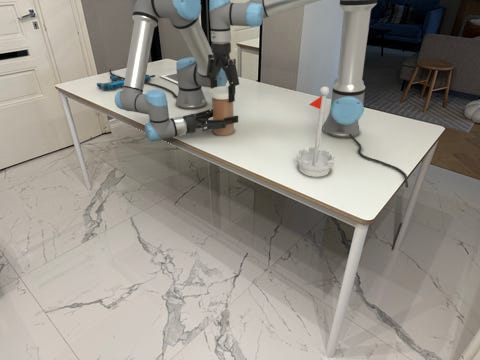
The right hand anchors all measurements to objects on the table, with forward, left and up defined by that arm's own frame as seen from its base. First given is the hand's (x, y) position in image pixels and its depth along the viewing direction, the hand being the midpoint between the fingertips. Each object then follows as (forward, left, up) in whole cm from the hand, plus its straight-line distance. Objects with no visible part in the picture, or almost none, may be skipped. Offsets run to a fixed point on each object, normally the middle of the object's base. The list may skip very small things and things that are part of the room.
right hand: (223, 98), depth 142 cm
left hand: (0, -4, -8) cm, 9 cm away
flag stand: (-44, -17, -15) cm, 49 cm away
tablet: (+81, -9, -15) cm, 83 cm away
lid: (0, 0, +3) cm, 3 cm away
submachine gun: (+91, +27, -15) cm, 96 cm away
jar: (0, 0, -15) cm, 15 cm away
